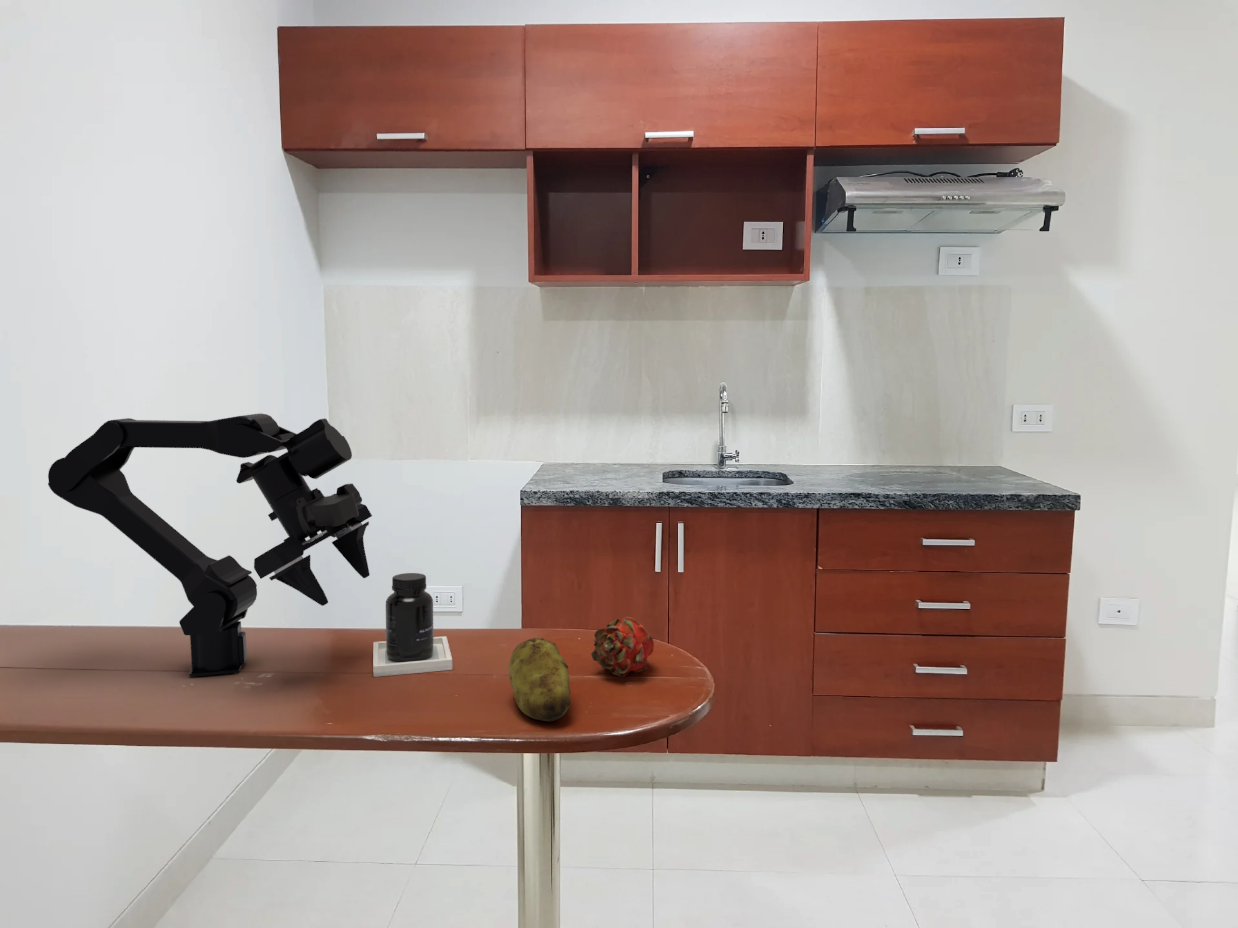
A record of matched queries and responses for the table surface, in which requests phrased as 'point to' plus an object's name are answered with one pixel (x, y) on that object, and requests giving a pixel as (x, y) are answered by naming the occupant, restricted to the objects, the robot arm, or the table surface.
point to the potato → (540, 680)
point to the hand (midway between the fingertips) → (346, 590)
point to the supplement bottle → (409, 619)
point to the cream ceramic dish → (435, 662)
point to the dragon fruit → (623, 646)
